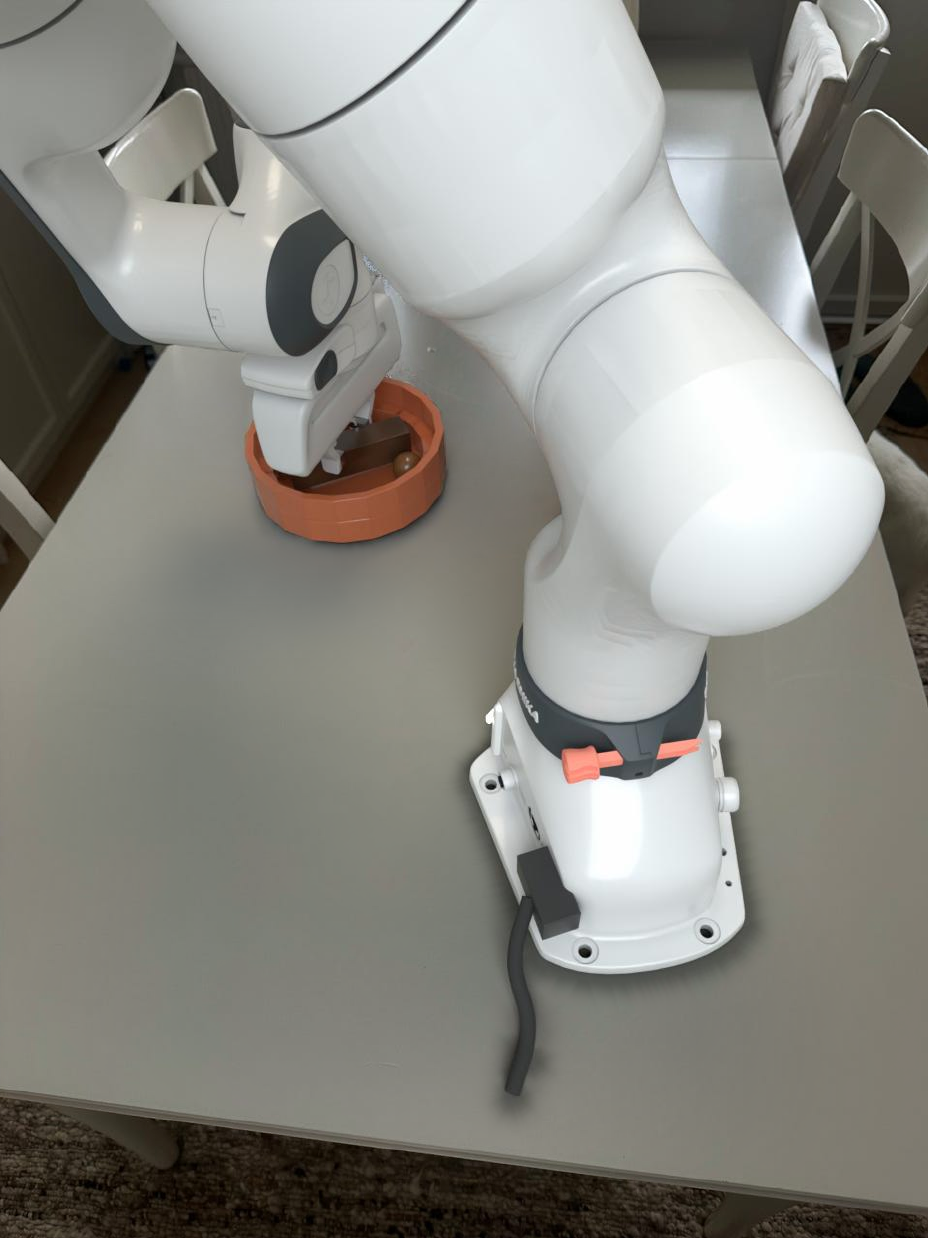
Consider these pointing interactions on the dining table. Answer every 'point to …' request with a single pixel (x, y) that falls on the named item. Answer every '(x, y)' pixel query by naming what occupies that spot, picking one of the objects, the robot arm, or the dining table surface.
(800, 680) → the dining table surface
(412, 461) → the hazelnut
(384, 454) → the stick
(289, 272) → the robot arm
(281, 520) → the bowl
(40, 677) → the dining table surface
